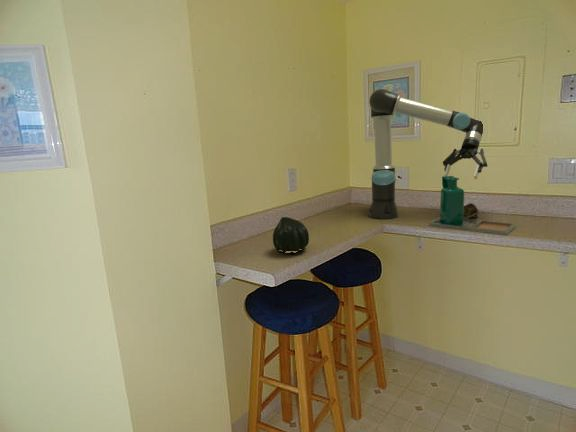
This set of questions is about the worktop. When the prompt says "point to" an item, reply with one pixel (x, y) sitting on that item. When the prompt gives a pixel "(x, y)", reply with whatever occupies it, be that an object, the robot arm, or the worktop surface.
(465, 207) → the brown mottled shell
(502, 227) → the rail
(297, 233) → the squash
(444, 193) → the green bottle
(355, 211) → the worktop surface
